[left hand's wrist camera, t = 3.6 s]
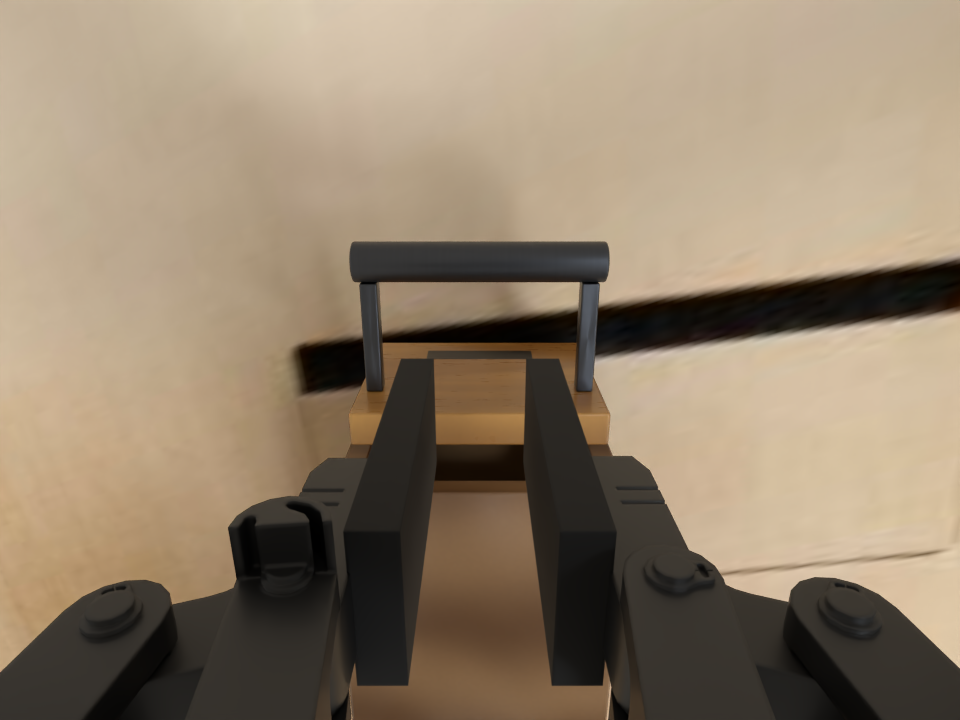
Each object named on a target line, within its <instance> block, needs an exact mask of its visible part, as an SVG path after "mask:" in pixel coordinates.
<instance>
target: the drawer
mask: <svg viewBox="0 0 960 720" xmlns="http://www.w3.org/2000/svg"><path fill="white" fill-rule="evenodd" d="M349 259H350V272H351V277H352V279H353V281H354V282H361V283H360V285H359V287H360V301H361V316H362V330H363V345H364V359H365V374H366V378H365V380H364V382H363V384H362V386H361V389H360V391H359V393H358V395H357V397H356V400H355V402H354V404H353V406H352V409H351V411H350V413H349V425H350V437H351V443H352V444H353V445H372V444H373V441H374V438H375V435H376V432H377V429H378V426H379V423H380V420H381V417H382V414H383V411H384V408H385V405H386V402H387V399H388V396H389V393H390V390H391V387H392V384H393V381H394V378H395V375H396V372H397V369H398V366H399V363H400V360H401V359H434V382H435V418H436V454H437V464H436V472H435V480H434V481H526V480H525V472H524V464H523V454H524V418H525V382H526V359H559V360H560V363H561V366H562V369H563V372H564V375H565V378H566V381H567V384H568V387H569V390H570V393H571V396H572V399H573V402H574V405H575V408H576V411H577V414H578V417H579V420H580V423H581V426H582V429H583V432H584V435H585V438H586V441H587V444H588V445H606V444H607V443H608V437H609V425H610V413H609V411H608V409H607V406H606V404H605V402H604V400H603V397H602V395H601V393H600V391H599V388H598V386H597V384H596V382H595V380H594V377H593V375H594V361H595V346H596V331H597V317H598V302H599V288H600V284H599V283H598V282H605V281H606V279H607V277H608V272H609V248H608V244H607V243H606V242H353V243H352V244H351V247H350V258H349ZM379 282H580V290H579V308H578V325H577V343H382V326H381V308H380V291H379Z"/></svg>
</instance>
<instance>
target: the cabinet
mask: <svg viewBox="0 0 960 720" xmlns="http://www.w3.org/2000/svg"><path fill="white" fill-rule="evenodd" d="M371 447H372V445H353V444H352V443H351V445H350V448H349V450H348V453H347V455H346V458H368V456H369V453H370V450H371ZM588 447H589V450H590V453H591V456H613V455H612V453H611V450H610V448H609V445H608V443H607V444H606V445H588ZM609 686H610V678H609V674H608V670H607V665H606V661H605V668H604V679H603V686H552V684H551V676H550V668H549V660H548V652H547V644H546V637H545V629H544V621H543V613H542V605H541V597H540V589H539V582H538V574H537V566H536V558H535V550H534V542H533V535H532V527H531V519H530V511H529V503H528V495H527V488H526V481H434V488H433V495H432V503H431V511H430V519H429V527H428V535H427V543H426V550H425V558H424V566H423V574H422V582H421V590H420V597H419V605H418V613H417V621H416V629H415V637H414V644H413V652H412V660H411V668H410V676H409V684H408V686H357V679H356V668H355V664H354V669H353V673H352V677H351V681H350V695H351V705H352V716H353V720H606V717H607V707H608V697H609Z"/></svg>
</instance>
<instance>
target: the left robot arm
mask: <svg viewBox="0 0 960 720" xmlns="http://www.w3.org/2000/svg"><path fill="white" fill-rule="evenodd" d="M436 464H437V454H436V418H435V382H434V359H401V360H400V363H399V366H398V369H397V372H396V375H395V378H394V381H393V384H392V387H391V390H390V393H389V396H388V399H387V402H386V405H385V408H384V411H383V414H382V417H381V420H380V423H379V426H378V429H377V432H376V435H375V438H374V441H373V444H372V447H371V450H370V453H369V456H368V458H328V459H327V460H325V461H324V462H323V463H322V464H320V465H319V466H318V467H316V468H315V469H314V470H313V471H311V472H310V474H309V476H308V478H307V480H306V482H305V485H304V487H303V489H302V492H301V493H300V495H299V497H296V496H287V497H281V498H275V499H269V500H267V501H264V502H261V503H259V504H256V505H253V506H251V507H250V508H248V509H247V510H245V511H244V512H242V513H241V514H239V515H238V516H236V518H235V519H234V520H233V522H232V523H231V524H230V526H229V527H228V530H229V536H230V542H231V548H232V554H233V560H234V566H235V572H236V578H237V580H236V583H235V586H234V588H232V589H230V590H228V591H226V592H222V593H219V594H216V595H212V596H209V597H204V598H200V599H195V600H191V601H186V602H182V603H177V604H173V605H172V602H171V597H170V593H169V592H168V591H167V590H166V589H165V588H164V587H163V586H162V585H161V584H159V583H155V582H151V581H148V580H132V581H123V582H119V583H116V584H112V585H108V586H104V587H102V588H100V589H98V590H96V591H94V592H92V593H90V594H87V595H85V596H83V597H82V598H80V599H79V600H78V601H76V602H75V603H74V604H72V605H71V606H70V607H68V608H67V609H66V610H64V611H63V612H62V613H61V614H60V615H59V616H58V617H57V618H56V619H55V620H54V621H53V622H52V623H51V624H50V625H49V626H48V627H47V628H46V629H45V630H44V631H43V632H42V633H41V634H40V635H39V636H38V637H36V638H35V639H34V640H33V641H32V642H31V643H30V644H29V645H28V646H27V647H26V648H25V649H24V650H23V651H22V652H21V653H20V654H19V655H18V656H17V657H16V658H15V659H14V660H13V661H12V662H11V663H10V664H9V665H8V666H7V667H6V668H4V669H3V670H2V671H1V672H0V720H351V708H350V698H349V686H350V681H351V677H352V673H353V669H354V664H355V668H356V679H357V686H408V684H409V676H410V668H411V660H412V652H413V644H414V637H415V629H416V621H417V613H418V605H419V597H420V590H421V582H422V574H423V566H424V558H425V550H426V543H427V535H428V527H429V519H430V511H431V503H432V495H433V488H434V480H435V472H436ZM523 464H524V472H525V480H526V488H527V495H528V503H529V511H530V519H531V527H532V535H533V542H534V550H535V558H536V566H537V574H538V582H539V589H540V597H541V605H542V613H543V621H544V629H545V637H546V644H547V652H548V660H549V668H550V676H551V684H552V686H603V679H604V668H605V661H606V665H607V670H608V674H609V678H610V683H611V687H612V688H611V698H610V708H609V718H608V720H960V668H959V667H958V666H957V665H956V664H955V663H953V662H952V661H951V660H950V659H949V658H948V657H947V656H946V655H945V654H944V653H943V652H942V651H941V650H940V649H939V648H938V647H937V646H936V645H935V644H934V643H933V642H932V641H931V640H930V639H928V638H927V637H926V636H925V635H924V634H923V633H922V632H921V631H920V630H919V629H918V628H917V627H916V626H915V625H914V624H913V623H912V622H911V621H910V620H909V619H908V618H907V617H906V616H905V615H904V614H902V613H901V612H900V611H899V610H898V609H897V608H896V607H895V606H893V605H892V604H891V603H889V602H888V601H887V600H885V599H884V598H883V597H881V596H880V595H879V594H877V593H875V592H873V591H871V590H869V589H866V588H864V587H862V586H860V585H858V584H855V583H851V582H848V581H844V580H840V579H836V578H821V577H814V578H810V579H807V580H803V581H800V582H799V583H798V584H797V585H796V586H795V587H794V588H793V589H792V590H791V593H790V597H789V602H785V601H781V600H776V599H772V598H767V597H763V596H758V595H754V594H750V593H747V592H743V591H740V590H736V589H734V588H731V587H729V586H727V585H725V582H724V579H723V577H722V576H721V574H720V573H719V571H718V570H717V568H716V567H715V566H714V565H713V564H712V563H710V562H709V561H708V560H706V559H705V558H704V557H702V556H701V555H699V554H696V553H694V552H692V551H689V549H688V547H687V545H686V543H685V541H684V539H683V537H682V535H681V533H680V531H679V529H678V527H677V525H676V523H675V521H674V519H673V517H672V515H671V513H670V511H669V509H668V507H667V504H665V500H664V498H663V496H662V494H661V492H660V490H658V486H657V484H656V482H655V480H654V478H653V476H652V474H651V472H650V470H649V469H647V468H646V467H645V466H644V465H642V464H641V463H640V462H639V461H637V460H636V459H635V458H634V457H632V456H591V453H590V450H589V447H588V444H587V441H586V438H585V435H584V432H583V429H582V426H581V423H580V420H579V417H578V414H577V411H576V408H575V405H574V402H573V399H572V396H571V393H570V390H569V387H568V384H567V381H566V378H565V375H564V372H563V369H562V366H561V363H560V360H559V359H526V382H525V418H524V454H523Z"/></svg>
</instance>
